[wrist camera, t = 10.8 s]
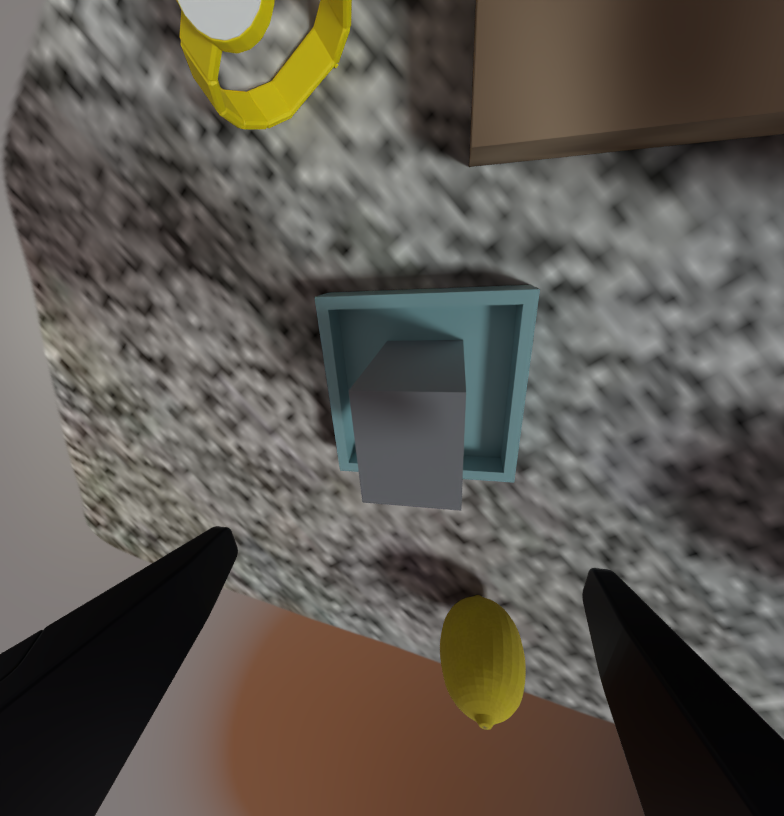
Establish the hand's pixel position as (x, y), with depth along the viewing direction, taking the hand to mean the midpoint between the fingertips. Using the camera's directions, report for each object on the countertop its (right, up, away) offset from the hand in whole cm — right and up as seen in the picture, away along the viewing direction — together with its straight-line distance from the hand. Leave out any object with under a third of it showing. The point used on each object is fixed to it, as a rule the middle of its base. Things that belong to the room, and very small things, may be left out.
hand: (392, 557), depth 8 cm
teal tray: (+2, +5, +11) cm, 12 cm away
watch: (-4, +18, +6) cm, 19 cm away
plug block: (+2, +5, +10) cm, 11 cm away
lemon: (+7, -11, +18) cm, 22 cm away
